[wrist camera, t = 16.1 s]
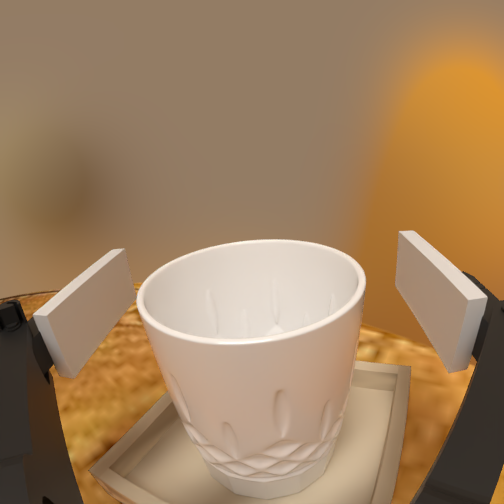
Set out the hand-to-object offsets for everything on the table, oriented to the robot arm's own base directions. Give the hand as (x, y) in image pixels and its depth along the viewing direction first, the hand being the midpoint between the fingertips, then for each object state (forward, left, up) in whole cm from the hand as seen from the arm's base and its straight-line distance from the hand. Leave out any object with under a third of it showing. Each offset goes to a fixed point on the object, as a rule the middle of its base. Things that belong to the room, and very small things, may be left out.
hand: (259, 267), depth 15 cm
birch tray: (+1, -3, -10) cm, 10 cm away
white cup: (+1, -3, -9) cm, 10 cm away
